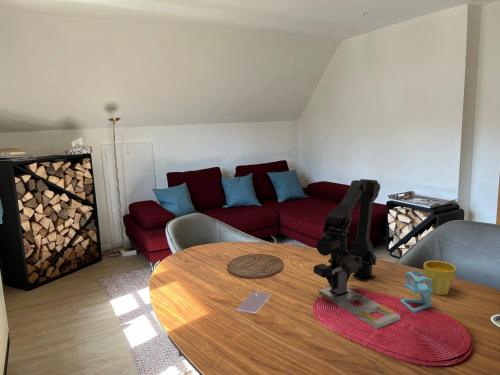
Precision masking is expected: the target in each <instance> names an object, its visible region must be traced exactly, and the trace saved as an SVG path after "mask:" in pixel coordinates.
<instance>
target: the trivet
mask: <svg viewBox="0 0 500 375" xmlns="http://www.w3.org/2000/svg"><path fill="white" fill-rule="evenodd" d="M284 267H285V266H284V261H283V259H282V258H280V257H278V256H276V255H273V254H268V253H249V254H243V255H239V256H236V257H234V258H232V259H231V260H229V261H228V262H227V272H228V274H230V275H232V276H233V277H236V278H239V279H245V280H259V279H266V278H271V277H274V276H276V275H278V274H280V273H281V272H282V271H283V270H284Z"/></svg>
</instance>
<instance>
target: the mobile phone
mask: <svg viewBox="0 0 500 375" xmlns="http://www.w3.org/2000/svg"><path fill="white" fill-rule="evenodd" d="M270 297H271V293H268V292H262V291H258V290H257V291H255V290H254V291H252V292H251V293H250V294H249V295H248V296H247V297H246V298H245V299H244V301H242V302H241V303H240V304H239V306H237V308H236V311H237V312H242V313H248V314H257V312H259V311H260V309H261V308H262V307H263V306H264V305H265V303H266V302H268V300H269V299H270Z"/></svg>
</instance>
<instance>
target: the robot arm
mask: <svg viewBox="0 0 500 375" xmlns="http://www.w3.org/2000/svg"><path fill="white" fill-rule="evenodd" d="M380 190H381V184H380V183H379V182H378V180H376V179H366V178H360V180H359V179H356V180H355V179H354V180H352V181H351V182H350V186H349V188H348V190H347V192H346V193H345V195H344V197H343V198H342V200H341V202H340V203H339V205H337V206H335V207H334V208H332V209H331V211H330V212H329V213H328V215H327V216H326V220H325V222H324V225H323V228H322V230H321V232H322V233H323V234H322V235H321V239H318V241H317V243H316V251H317V252H318V253H319V254H320V255H321V256H324V257H326V256H330V258H329V259H328V260H327V262H328V263H329V264H328V265H327V264H326V263H319V264H314V266H313V274H315V275H317V276H319V277H321V278H326V280H327V283H328V285H329V287H331V289H332V290H335V277H336V276H337V275H336V274H335V269H339V268H342V269H343V270H344V271H345V272H346V273H347V283H348V282H349V279H350V277H351V276H352V277H354V278H356V279H358V280H360V281H362V282H364V281H369V280H371V279H373V278H376V275H374V274H373V266H376V263H377V258H378V257H377V256H376V254H375V253H374V251H373V250H374V246H373V244H372V242H371V240H370V236H371V235H370V234H371V226H372V218H373V208H374V207H373V206H374V205H373V204H374V203H375V201H376V200H377V198H378V197H379V192H380ZM358 201H359V209H358V212H359V213H358V221H357V230H356V238H355V239H354V240H353V241H351V243H350V249H348V233H349V232H350V230H349V228H350V226H351V224H352V220H353V218H352V212H353V210H354V209H355V207H356V205H357V203H358Z"/></svg>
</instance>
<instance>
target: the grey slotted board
mask: <svg viewBox="0 0 500 375" xmlns="http://www.w3.org/2000/svg"><path fill="white" fill-rule="evenodd" d="M318 293H319V295H320V296H322V297H323V298H325V299H327V300H328V299H329V300H328V301H330V302H331V303H333V302H334V303H333V304H335V305H336V306H338V305H339V306H338V307H340V306H341V307H340V308H342V309H343V308H344V309H343V310H345V311H347V312H348V313H350V314H352V315H353V316H355V317H356V316H357V318H358V319H360V320H362V321H363V322H365V323H367V324H368V325H370V326H371V327H373V328H375V329H376V330H378V329H382V328H383V327H386V326H389V325H390V324H393V323H396V322H398V321H400V320H401V314H398V313H396V312H395V310H393V309H390V308H388V306H385V305H383V304H380V303H378V302H375V301H374V300H372V299H371V298H368V297H367V296H364V295H363V294H361V293H359V292H357V291H355V290H353V289H352V288H350V287H348V286H347V294H345V295H342V296H339V297H337V296H336V295H334V294H332V293H331V287H330V286H328V287H326V288H321V289H319V292H318ZM356 300H357V301H356ZM353 302H359V303H360V304H362V303H363V304H362V305H359V306H355V305H353V304H351V303H353ZM364 304H365V305H364ZM375 312H377V313H379V314H381V315H382V316H383V317H380V318H377V317H376V316H373V315H372V313H375ZM370 313H371V314H370ZM388 324H389V325H388Z"/></svg>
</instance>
